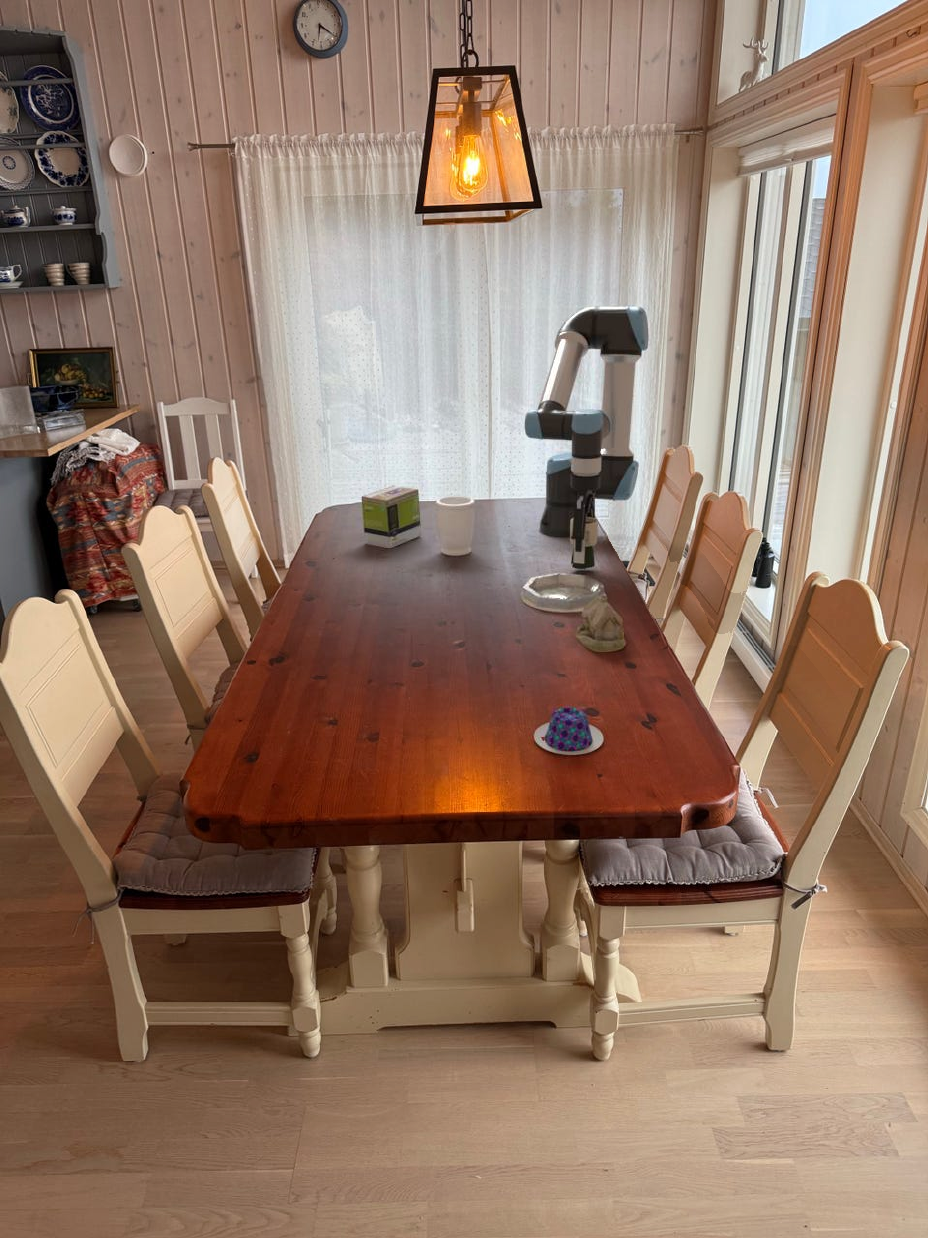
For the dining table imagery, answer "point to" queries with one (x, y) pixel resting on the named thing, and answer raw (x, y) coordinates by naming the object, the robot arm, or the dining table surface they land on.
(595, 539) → the character mug
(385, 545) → the tea box
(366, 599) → the dining table surface
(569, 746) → the pudding
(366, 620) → the dining table surface
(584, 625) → the ceramic model
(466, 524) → the jar
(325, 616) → the dining table surface
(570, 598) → the octagonal bowl
